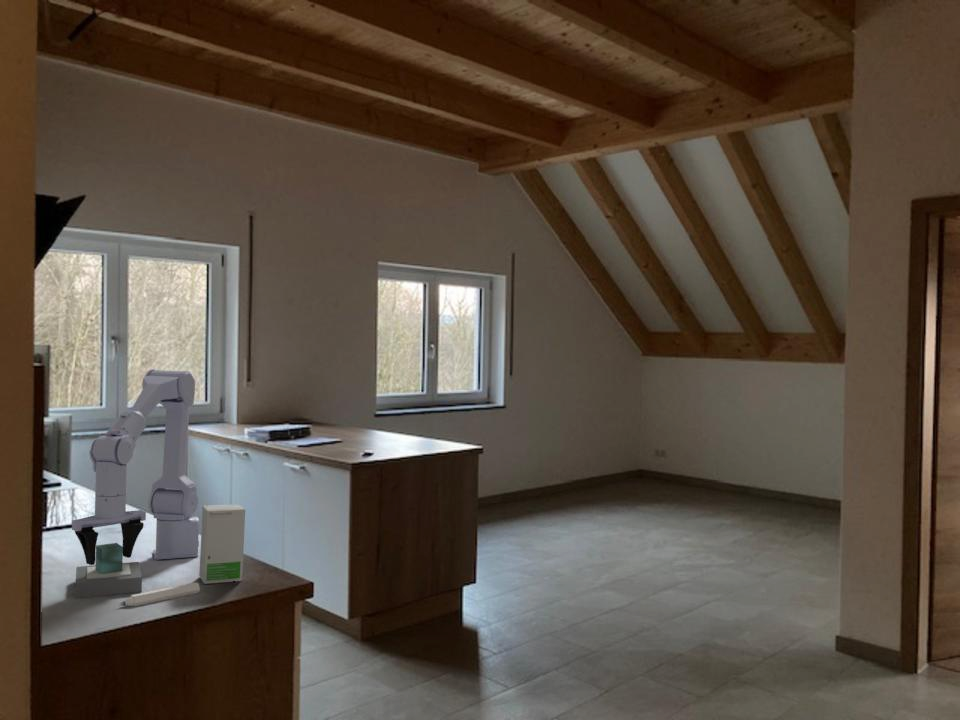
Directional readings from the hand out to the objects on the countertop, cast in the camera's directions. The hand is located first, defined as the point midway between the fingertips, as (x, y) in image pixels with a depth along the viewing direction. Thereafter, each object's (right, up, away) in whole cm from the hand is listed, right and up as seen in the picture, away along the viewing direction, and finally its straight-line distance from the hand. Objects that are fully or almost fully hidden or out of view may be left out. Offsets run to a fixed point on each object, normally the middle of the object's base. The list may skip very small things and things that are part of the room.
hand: (109, 560), depth 164 cm
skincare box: (+20, -6, +8) cm, 23 cm away
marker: (+13, -7, -7) cm, 16 cm away
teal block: (0, -2, 0) cm, 2 cm away
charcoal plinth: (0, -5, 0) cm, 5 cm away
